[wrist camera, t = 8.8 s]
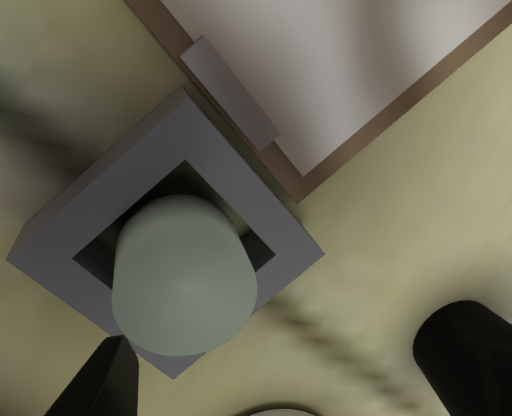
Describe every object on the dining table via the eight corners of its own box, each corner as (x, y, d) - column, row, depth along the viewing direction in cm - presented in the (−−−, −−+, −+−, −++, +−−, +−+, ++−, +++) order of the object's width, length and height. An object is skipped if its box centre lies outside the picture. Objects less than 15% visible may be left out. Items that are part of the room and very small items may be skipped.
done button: (174, 321, 20) (182, 378, 17) (88, 252, 18) (78, 302, 15) (260, 249, 20) (284, 294, 17) (183, 169, 17) (193, 203, 14)
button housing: (168, 337, 23) (173, 379, 21) (23, 225, 19) (5, 259, 17) (302, 225, 23) (325, 253, 20) (181, 85, 19) (188, 97, 16)
